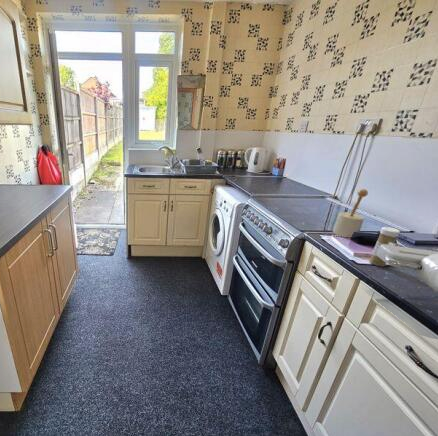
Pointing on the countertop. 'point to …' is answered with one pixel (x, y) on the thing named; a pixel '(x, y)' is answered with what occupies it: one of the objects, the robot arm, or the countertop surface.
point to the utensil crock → (350, 219)
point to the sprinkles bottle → (384, 238)
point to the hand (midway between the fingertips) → (411, 247)
